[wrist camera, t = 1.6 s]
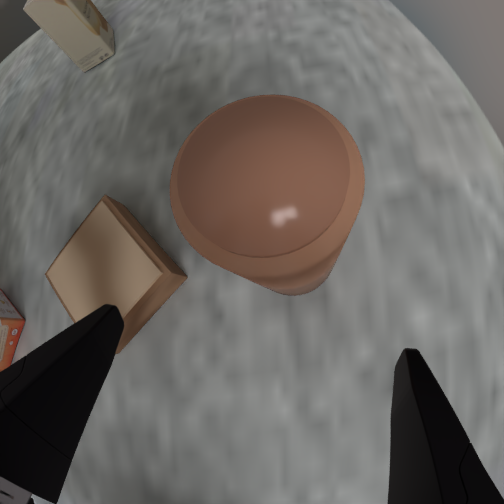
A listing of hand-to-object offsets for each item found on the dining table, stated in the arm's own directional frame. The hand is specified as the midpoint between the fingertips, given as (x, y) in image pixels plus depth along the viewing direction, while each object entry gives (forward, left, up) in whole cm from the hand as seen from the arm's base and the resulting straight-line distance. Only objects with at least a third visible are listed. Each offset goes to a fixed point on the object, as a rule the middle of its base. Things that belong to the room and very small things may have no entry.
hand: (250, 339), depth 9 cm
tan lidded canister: (+4, +3, -11) cm, 12 cm away
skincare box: (+7, +35, -12) cm, 37 cm away
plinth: (-6, +11, -11) cm, 17 cm away
